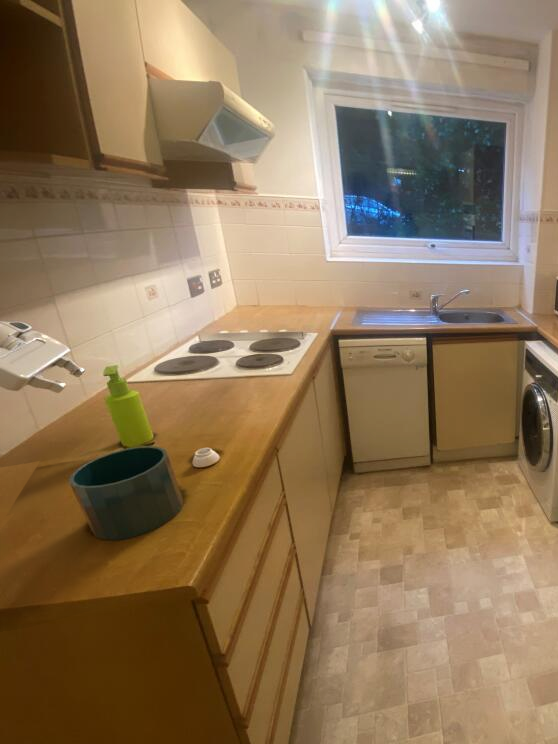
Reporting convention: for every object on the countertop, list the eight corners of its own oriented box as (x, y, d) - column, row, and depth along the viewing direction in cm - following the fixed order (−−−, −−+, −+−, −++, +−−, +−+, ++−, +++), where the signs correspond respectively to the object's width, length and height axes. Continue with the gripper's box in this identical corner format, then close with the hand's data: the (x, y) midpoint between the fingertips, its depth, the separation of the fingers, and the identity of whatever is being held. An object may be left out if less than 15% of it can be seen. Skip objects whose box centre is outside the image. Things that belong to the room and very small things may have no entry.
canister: (79, 549, 73) (53, 495, 68) (109, 503, 84) (88, 455, 80) (174, 527, 78) (155, 476, 74) (190, 487, 89) (174, 440, 85)
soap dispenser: (121, 455, 100) (89, 374, 92) (125, 442, 105) (96, 365, 97) (153, 448, 103) (125, 369, 95) (156, 436, 108) (129, 360, 100)
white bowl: (218, 454, 101) (192, 461, 98) (214, 443, 99) (188, 450, 96) (221, 463, 97) (194, 471, 94) (218, 452, 96) (190, 459, 93)
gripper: (-34, 347, 78) (59, 387, 85) (27, 319, 95) (100, 355, 103) (-56, 373, 78) (39, 412, 85) (9, 341, 95) (83, 376, 103)
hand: (73, 381), depth 94 cm, fingers open, 8 cm apart
